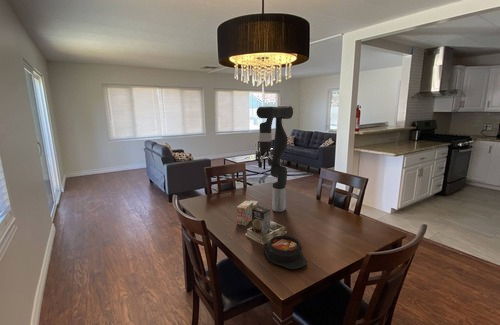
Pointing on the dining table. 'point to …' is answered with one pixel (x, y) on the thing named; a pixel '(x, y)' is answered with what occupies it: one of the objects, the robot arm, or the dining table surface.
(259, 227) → the coffee box
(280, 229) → the caddy
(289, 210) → the dining table surface
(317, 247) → the dining table surface
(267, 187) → the dining table surface
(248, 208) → the stack of blocks
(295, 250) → the casserole
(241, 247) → the dining table surface
